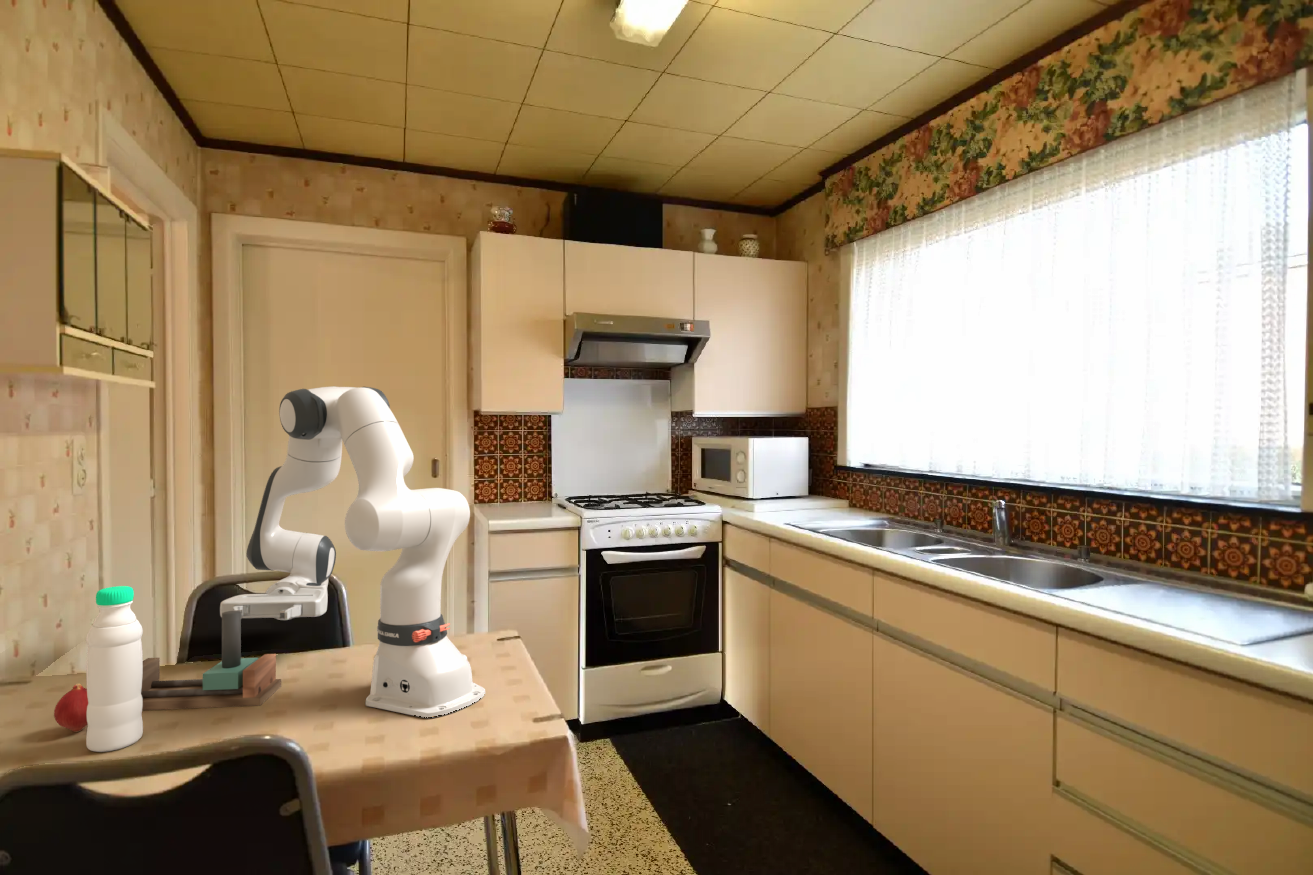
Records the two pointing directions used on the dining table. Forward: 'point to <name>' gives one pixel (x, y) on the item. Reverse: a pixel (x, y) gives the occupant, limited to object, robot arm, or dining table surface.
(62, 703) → the onion
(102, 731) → the white bottle
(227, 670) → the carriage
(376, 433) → the robot arm
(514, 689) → the dining table surface
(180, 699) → the rail
